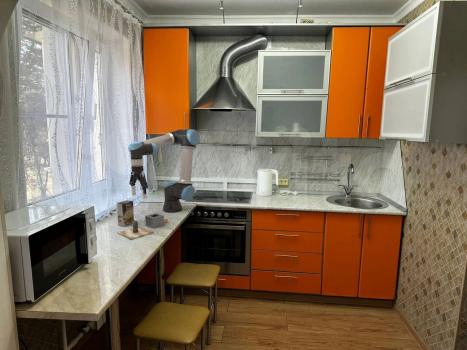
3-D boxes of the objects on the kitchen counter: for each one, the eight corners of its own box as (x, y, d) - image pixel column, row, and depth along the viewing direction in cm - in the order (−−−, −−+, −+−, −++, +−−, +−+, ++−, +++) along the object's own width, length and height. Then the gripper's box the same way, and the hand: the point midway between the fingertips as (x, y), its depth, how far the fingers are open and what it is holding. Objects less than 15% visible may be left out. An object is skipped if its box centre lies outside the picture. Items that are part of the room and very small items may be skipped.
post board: (140, 227, 215) (139, 216, 214) (153, 233, 205) (153, 221, 203) (117, 233, 204) (117, 221, 202) (130, 240, 193) (130, 227, 192)
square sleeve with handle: (163, 220, 229) (162, 211, 228) (170, 223, 223) (170, 213, 222) (145, 225, 219) (145, 215, 218) (153, 228, 213) (152, 218, 212)
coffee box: (124, 227, 216) (122, 204, 214) (117, 225, 220) (116, 202, 217) (134, 223, 224) (133, 201, 221) (128, 221, 227) (127, 200, 225)
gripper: (122, 164, 214) (124, 194, 218) (142, 168, 197) (144, 201, 201) (132, 163, 220) (134, 193, 223) (152, 166, 202) (154, 199, 206)
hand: (139, 197), depth 212 cm, fingers open, 13 cm apart
